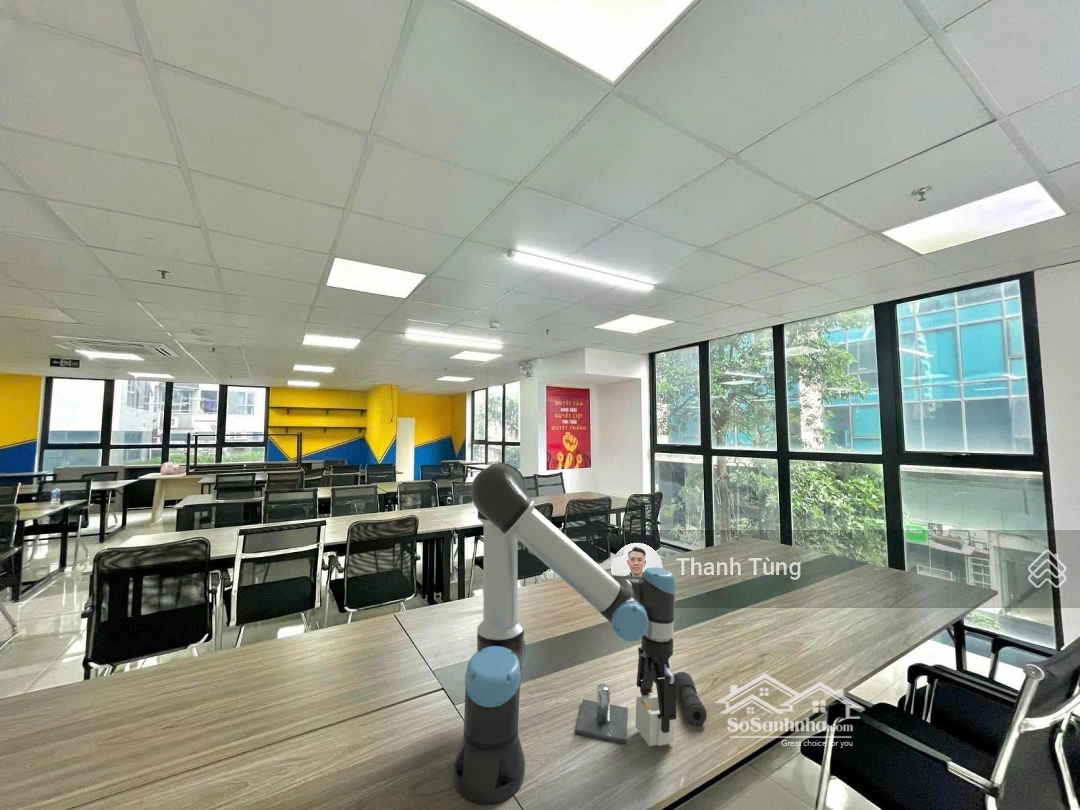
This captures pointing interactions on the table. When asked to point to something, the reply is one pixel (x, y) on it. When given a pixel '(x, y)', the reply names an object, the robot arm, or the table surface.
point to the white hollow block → (650, 719)
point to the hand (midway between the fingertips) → (654, 732)
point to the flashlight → (690, 698)
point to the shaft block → (603, 718)
